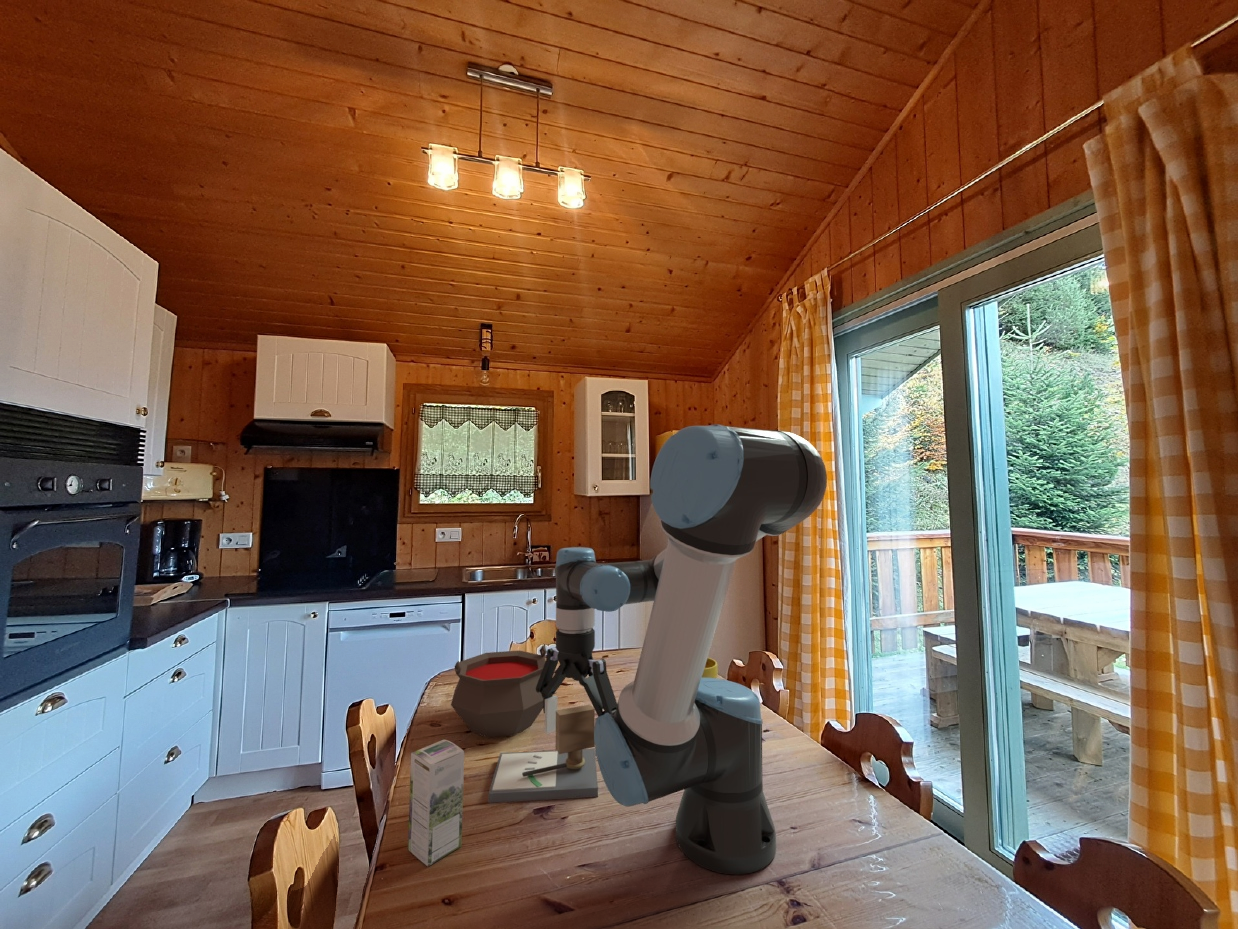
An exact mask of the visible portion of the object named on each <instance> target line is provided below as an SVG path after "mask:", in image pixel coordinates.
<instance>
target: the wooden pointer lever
mask: <svg viewBox="0 0 1238 929" xmlns="http://www.w3.org/2000/svg"><path fill="white" fill-rule="evenodd" d="M595 713H596V711H595V709H594V707H593V705H592V704H584V705H579V706H573V707H569V708H562V709H557V710H556V730H555V750H557V752H558V753H559V754H563V753H568V758H567V759H566V763H563V764H559V765H554V766H550V767H545V768H541V769H536V770H532V771H527V772H523V773H522V775H523V777H524V776H529V775H533V774H538V773H542V772H546V771H551V770H555V769H560V768H564V767H568V768H570V769H579V768H581V767H583V766H584V764H585V760H584V758H583V757H582V749H592V748H595V743H594V727H595V718H596V717H595Z"/></svg>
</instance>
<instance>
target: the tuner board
mask: <svg viewBox="0 0 1238 929" xmlns="http://www.w3.org/2000/svg"><path fill="white" fill-rule="evenodd" d="M582 757H583V758H584V760H585V764H584V766H583V767H581V768H579V769H570V768H568V767H564V768H560V769H555V770H551V771H546V772H542V773H538V774H533V775H529V776H524V777H523V775H522V773H523V772H527V771H532V770H536V769H541V768H545V767H550V766H554V765H559V764H563V763H566V759H567V758H568V753H563V754H559V753H558V752H557V750H556V749H555V750H536V751H520V752H519V751H517V752H500V753H499V756H498V759H497V762H496V763H497V764H496V766H495V770H494V773H493V776H492V777H493V778H492V780H491V784H490V787H489V791H488V797H487V798H488V803H489V804H492V803H493V804H494V803H506V802H507V803H509V802H524V801H528V802H529V801H543V800H544V801H545V800H558V799H559V800H561V799H563V800H564V799H577V798H578V799H579V798H582V799H583V798H595V797H597V798H598V797H599V784H598V773H597V772H598V771H597V762H596V759H597V758H596V756H595V748H587V749H582Z"/></svg>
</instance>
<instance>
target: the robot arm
mask: <svg viewBox="0 0 1238 929" xmlns="http://www.w3.org/2000/svg"><path fill="white" fill-rule="evenodd" d="M827 483H828V473H827V469H826V465H825V462H824V460H823V458H822V456H821V455H820V453H819V451H818V450H817V449H816V448H815V447H814V446H813V445H812V444H811V443H810V441H807V440H806V439H805V438H803V437H802V436H799V435H797V434H795V433H792V432H789V431H783V430H774V429H773V430H770V429H768V430H767V429H757V428H747V427H739V426H738V427H736V426H728V425H727V426H726V425H722V424H710V425H691V426H690V425H689V426H686V427H684V428H681V429H680V430H677V432H676V433H674V434H673V435H671V436H669V438H668V439H666V440H665V442H664V443H663V444H662V446H661V448H660V449H659V451H658V453H657V454H656V458H655V461H654V463H653V466H652V470H651V475H650V483H649V484H650V485H649V486H650V490H652V492H653V493H652V494H651V495H650V499H651V500H650V501H651V504H652V507H653V510H654V511H655V514H656V516H658V518H659V519H660V528H661V530H662V531H663V533H664V534H665V535H666V537H667V539H668V542H667V547H665V549H663V550H662V551H661V552H659V553H658V554H657V555H655V556H654V557H653V558H652V559H651V558H650V559H647V560H646V559H645V560H635V561H623V562H609V563H608V562H607V563H600V562H599V563H598V562H597V561H596V555H595V551H594V550H593V548H591V547H581V546H580V547H578V546H576V547H575V546H573V547H564V548H560V549H558V550H557V552H556V559H555V561H556V563H555V566H554V568H555V627H556V631H555V647H551V648H547V649H546V651H547V653H546V655H545V660H546V662H545V664H544V667H543V670H542V672H541V675H540V678H539V680H538V683H537V686H536V692H537V693H539V692H540V693H541V694H542V697H543V709H542V712H543V714H544V734H545V735H549V734H551V733H554V732H556V710H558V695H557V690H558V689H559V688H560V687H561V685H562V683H563V682H564V681H565V679H566V678H567V679H572V680H573V681H576V682H578V683H579V685H580V686H582V687H583V689H584V691H585V692H586V694H587V697H588V698H589V701H590V703H591V706H592V707H593V708H594V709H595V713H596V715H597V717H595V727H594V743H595V747H594V749H595V757H596V759H597V764H598V767H599V770H600V773H601V776H602V779H603V781H604V784H605V786H606V788H607V790H608V792H609V793H610V795H611V797H612V798H613V800H615V802H616V803H618V804H620V805H621V806H623V807H626V808H629V807H633V806H636V805H637V806H638V805H640V804H644V805H647V804H649V802H652V801H656V800H657V799H661V798H663V797H666V796H669V795H672V794H675V793H678V792H681V791H683V793H682V795H681V796H682V797H681V799H680V803H679V806H678V809H677V813H676V817H675V839H676V843H677V845H678V847H679V848H680V850H681V851H682V853H683V854H684V855H685V856H686V857H687V858H688V859H689V860H691V861H692V862H693V863H694V864H696V865H698V866H700V867H702V868H704V869H706V870H709V871H712V872H715V873H719V874H727V875H747V874H752V873H754V872H755V873H756V872H758V871H760V870H762V869H764V868H765V867H767V866H768V865H770V863H771V862H772V861H773V860H774V858H775V856H776V852H777V835H776V833H777V832H776V826H775V824H774V821H773V818H772V815H771V811H770V809H769V805H768V802H767V800H766V797H765V794H764V788H763V787H764V786H763V783H764V782H763V724H764V723H763V722H764V721H763V719H762V712H761V710H762V709H761V701H760V698H759V697H758V695H757V694H756V693H755V691H753V690H752V689H750V688H748V687H747V686H745V685H742V684H741V683H738V682H734V681H731V680H726V679H722V678H702V675H703V671H704V668H705V665H706V661H707V658H709V654H710V651H711V647H712V643H713V640H714V637H715V633H716V630H717V627H718V624H719V620H720V617H721V613H722V610H723V606H724V602H725V600H726V597H727V592H728V590H729V586H730V584H731V583H730V582H731V579H732V576H733V573H734V570H735V566H736V563H737V560H738V559H741V558H743V557H745V556H748V555H750V554H751V553H752V552H753V551H754V547H755V544H756V543H757V541H759V540H761V539H762V538H763V537H766V536H771V537H774V536H780V535H783V534H784V533H786V532H788V531H789V530H790V529H792V528H794V527H796V526H798V524H800V523H802V522H803V521H805V520H807V518H809V517H810V516H811V515H813V514H814V513H815V511H816V510H817V509H818V508H819V506H820V505H821V503H822V502H823V499H824V497H825V493H826V490H827V486H828V484H827ZM648 602H653V603H652V606H651V611H650V616H649V620H648V623H647V628H646V630H645V636H644V639H643V643H642V648H641V653H640V656H639V659H638V660H639V661H638V664H637V667H636V673H635V676H634V680H632V681H631V682H629V683H628V684H626V685H625V686H624V687H623V689H622V690H621V691H620V693H619V696H618V700H617V699H616V696H615V693H614V692H615V691H614V690H613V687H612V684H611V681H610V678H609V675H608V672H607V662H606V659H604V658H601V659H599V660H598V659H594V657H593V651H594V649H595V646H596V634H595V632H596V630H595V629H594V627H595V624H596V623H595V621H596V620H595V615H596V614H595V612H596V610H597V611H601V612H602V611H603V612H607V613H608V612H614V611H617V610H619V609H621V607H623V606H625V605H630V604H631V605H632V604H641V603H648ZM558 664H559V665H558ZM557 665H558V666H557ZM555 694H556V695H555Z"/></svg>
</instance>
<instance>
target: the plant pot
mask: <svg viewBox="0 0 1238 929" xmlns="http://www.w3.org/2000/svg"><path fill="white" fill-rule="evenodd" d="M718 669H719V668H718V661H716V660H715V659H713V658H711V657H708V658H707V661H706V665H705V668H704V671H703V675H702V678H716V679H718V678H717V677H718V675H719V674H718V671H719V670H718Z"/></svg>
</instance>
